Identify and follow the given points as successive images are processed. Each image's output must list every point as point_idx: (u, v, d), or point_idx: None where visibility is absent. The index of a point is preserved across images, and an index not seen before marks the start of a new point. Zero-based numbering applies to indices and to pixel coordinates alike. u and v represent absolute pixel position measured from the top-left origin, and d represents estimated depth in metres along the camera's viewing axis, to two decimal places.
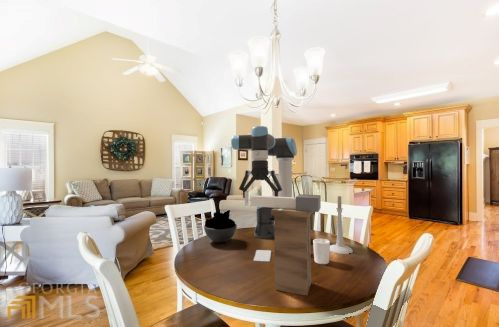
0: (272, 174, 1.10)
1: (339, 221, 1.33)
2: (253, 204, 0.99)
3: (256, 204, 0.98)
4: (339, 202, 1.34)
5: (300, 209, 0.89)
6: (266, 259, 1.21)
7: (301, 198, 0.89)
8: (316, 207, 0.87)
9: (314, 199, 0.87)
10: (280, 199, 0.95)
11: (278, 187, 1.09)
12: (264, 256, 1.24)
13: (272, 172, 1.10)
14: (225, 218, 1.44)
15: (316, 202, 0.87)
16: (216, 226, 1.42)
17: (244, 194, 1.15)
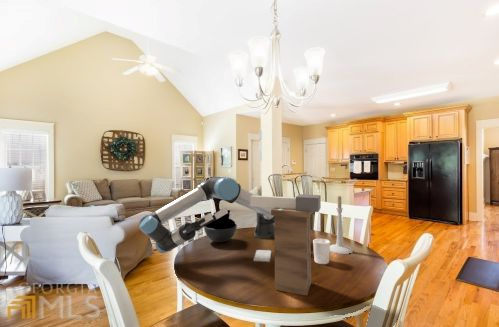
0: (187, 233, 1.05)
1: (339, 221, 1.33)
2: (253, 204, 0.99)
3: (256, 204, 0.98)
4: (339, 202, 1.34)
5: (300, 209, 0.89)
6: (266, 259, 1.21)
7: (301, 198, 0.89)
8: (316, 207, 0.87)
9: (314, 199, 0.87)
10: (280, 199, 0.95)
11: (193, 228, 1.00)
12: (264, 256, 1.24)
13: (185, 234, 1.05)
14: (225, 218, 1.44)
15: (316, 202, 0.87)
16: (216, 226, 1.42)
17: None
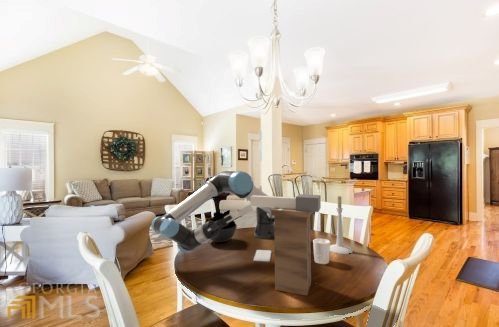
0: (212, 231, 1.00)
1: (339, 221, 1.33)
2: (253, 204, 0.99)
3: (256, 204, 0.98)
4: (339, 202, 1.34)
5: (300, 209, 0.89)
6: (266, 259, 1.21)
7: (301, 198, 0.89)
8: (316, 207, 0.87)
9: (314, 199, 0.87)
10: (280, 199, 0.95)
11: (219, 226, 0.96)
12: (264, 256, 1.24)
13: (210, 232, 1.00)
14: None
15: (316, 202, 0.87)
16: None
17: None
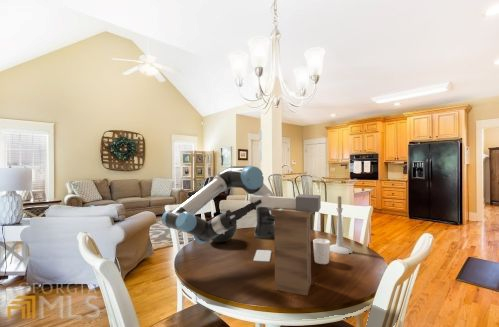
0: (235, 218, 0.98)
1: (339, 221, 1.33)
2: None
3: None
4: (339, 202, 1.34)
5: (300, 209, 0.89)
6: (266, 259, 1.21)
7: (301, 198, 0.89)
8: (316, 207, 0.87)
9: (314, 199, 0.87)
10: (280, 199, 0.95)
11: (248, 211, 0.96)
12: (264, 256, 1.24)
13: (233, 219, 0.97)
14: None
15: (316, 202, 0.87)
16: None
17: None
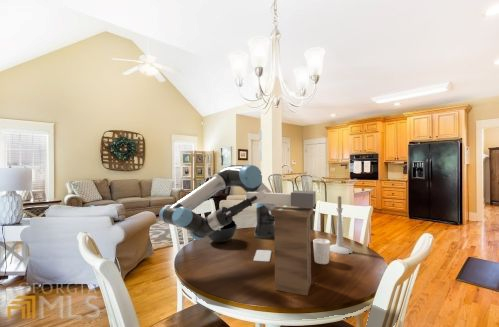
0: (231, 214, 0.98)
1: (339, 221, 1.33)
2: None
3: None
4: (339, 202, 1.34)
5: (295, 205, 0.90)
6: (266, 259, 1.21)
7: (296, 194, 0.90)
8: (311, 203, 0.88)
9: (309, 195, 0.88)
10: (276, 195, 0.96)
11: (244, 207, 0.97)
12: (264, 256, 1.24)
13: (229, 215, 0.98)
14: None
15: (311, 198, 0.88)
16: None
17: None
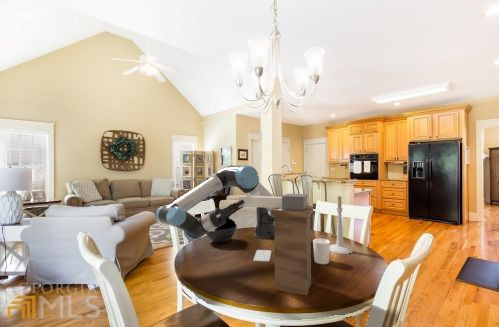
0: (221, 217, 0.99)
1: (339, 221, 1.33)
2: None
3: None
4: (339, 202, 1.34)
5: (286, 208, 0.91)
6: (266, 259, 1.21)
7: (287, 197, 0.91)
8: (302, 206, 0.89)
9: (300, 198, 0.89)
10: (268, 199, 0.97)
11: (231, 211, 0.96)
12: (264, 256, 1.24)
13: (219, 218, 0.99)
14: None
15: (302, 201, 0.89)
16: None
17: None
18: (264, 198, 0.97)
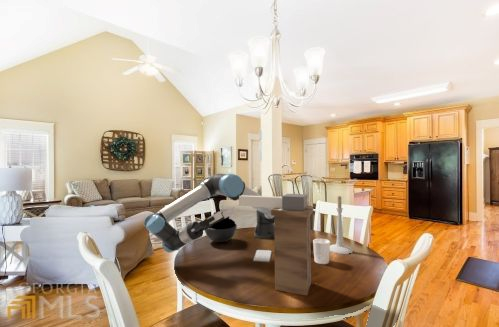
0: (195, 231, 1.03)
1: (339, 221, 1.33)
2: (242, 204, 1.01)
3: (244, 204, 1.00)
4: (339, 202, 1.34)
5: (286, 208, 0.91)
6: (266, 259, 1.21)
7: (287, 197, 0.91)
8: (302, 206, 0.89)
9: (300, 198, 0.89)
10: (268, 199, 0.97)
11: (202, 227, 0.99)
12: (264, 256, 1.24)
13: (194, 232, 1.04)
14: None
15: (302, 201, 0.89)
16: (216, 226, 1.42)
17: None
18: (264, 198, 0.97)
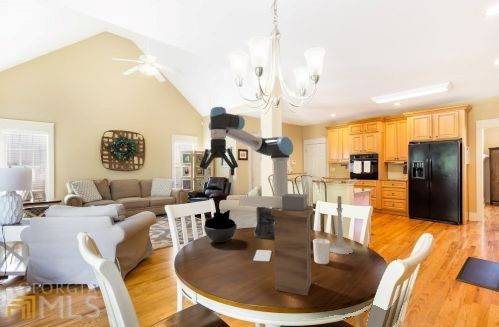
0: (228, 151, 1.17)
1: (339, 221, 1.33)
2: (242, 204, 1.01)
3: (244, 204, 1.00)
4: (339, 202, 1.34)
5: (286, 208, 0.91)
6: (266, 259, 1.21)
7: (287, 197, 0.91)
8: (302, 206, 0.89)
9: (300, 198, 0.89)
10: (268, 199, 0.97)
11: (234, 163, 1.16)
12: (264, 256, 1.24)
13: (228, 150, 1.17)
14: (225, 218, 1.44)
15: (302, 201, 0.89)
16: (216, 226, 1.42)
17: None
18: (264, 198, 0.97)
